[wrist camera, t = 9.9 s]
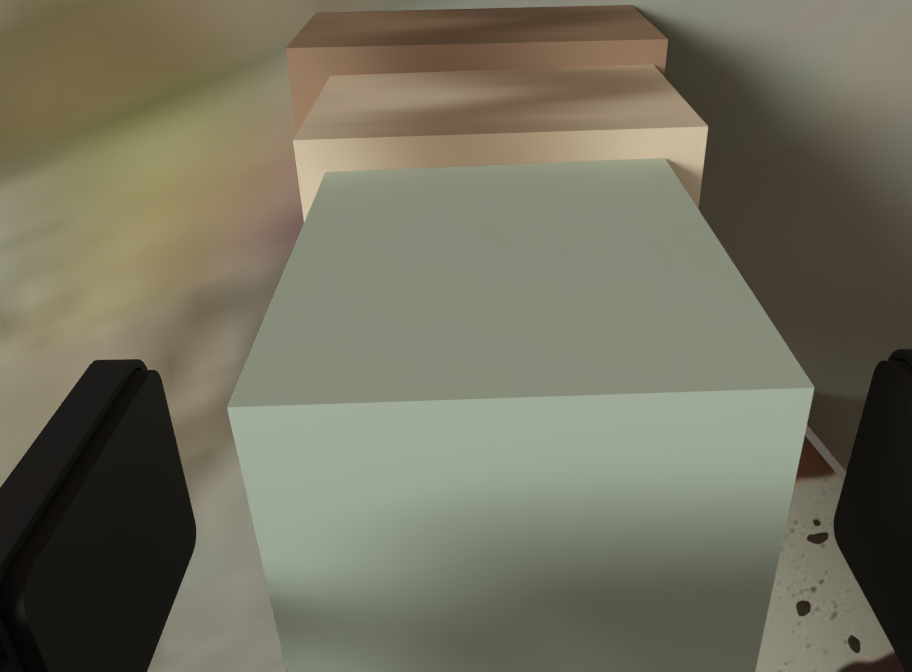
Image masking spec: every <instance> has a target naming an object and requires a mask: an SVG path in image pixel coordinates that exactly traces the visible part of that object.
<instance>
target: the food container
mask: <svg viewBox="0 0 912 672" xmlns="http://www.w3.org/2000/svg"><path fill="white" fill-rule="evenodd" d="M846 472H847V471H846V470H845V469H844V468H843V467H842V465H841V464H840V463H839V462H838V461H837V459H836V458H835V457H834V456H833V455H832V453H831V452H830V451H829V450H828V449H827V447H826V446H825V445H824V444H823V443H822V441H821V440H820V439H819V438H818V436H817V435H816V434H815V433H814V432H813V430H812V429H811V428H810V427H809V426H808V424H807V427H806V431H805V436H804V441H803V446H802V451H801V455H800V460H799V465H798V470H797V474H796V479H795V484H794V489H793V494H792V498H791V503H790V508H789V513H788V518H787V522H786V527H785V532H784V537H783V541H782V546H781V551H780V556H779V561H778V565H777V570H776V575H775V580H774V585H773V589H772V594H771V599H770V604H769V608H768V613H767V618H766V623H765V628H764V632H763V637H762V642H761V647H760V651H759V656H758V661H757V666H756V671H755V672H905V670H904V668H903V666H902V664H901V662H900V660H899V659H898V657H897V655H896V653H895V651H894V649H893V647H892V646H891V644H890V642H889V640H888V638H887V636H886V634H885V633H884V631H883V629H882V627H881V625H880V623H879V621H878V620H877V618H876V616H875V614H874V612H873V610H872V608H871V607H870V605H869V603H868V601H867V599H866V597H865V595H864V594H863V592H862V590H861V588H860V586H859V584H858V582H857V581H856V579H855V577H854V575H853V573H852V571H851V569H850V568H849V566H848V564H847V562H846V560H845V558H844V556H843V555H842V553H841V551H840V549H839V547H838V545H837V542H836V539H835V535H834V528H833V525H834V515H835V512H836V508H837V504H838V501H839V497H840V494H841V490H842V486H843V483H844V479H845V475H846Z"/></svg>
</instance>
